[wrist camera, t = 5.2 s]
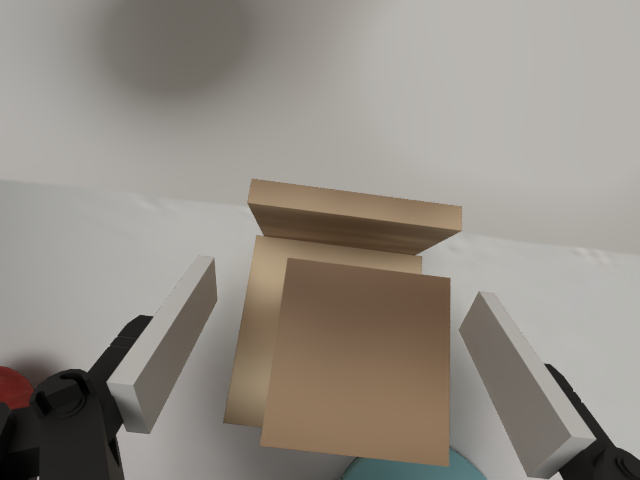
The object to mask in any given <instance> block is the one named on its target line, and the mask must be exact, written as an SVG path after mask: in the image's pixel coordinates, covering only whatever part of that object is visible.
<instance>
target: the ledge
mask: <svg viewBox="0 0 640 480" xmlns="http://www.w3.org/2000/svg"><path fill="white" fill-rule="evenodd" d="M247 203H248V205H249V207H250V209H251V211H252V213H253V215H254V217H255V219H256V221H257V223H258V225H259V227H260V229H261V231H262V233H263V235H264V236H259V235H257V236H256V241H255V247H254V253H253V258H252V264H251V269H250V275H249V281H248V286H247V292H246V297H245V303H244V309H243V314H242V320H241V325H240V331H239V337H238V342H237V348H236V354H235V359H234V365H233V370H232V376H231V382H230V387H229V393H228V398H227V404H226V410H225V415H224V421H223V423H228V424H237V425H246V426H255V427H263V421H264V414H265V408H266V401H267V394H268V387H269V381H270V374H271V367H272V360H273V354H274V347H275V340H276V333H277V326H278V320H279V313H280V306H281V299H282V293H283V286H284V279H285V272H286V266H287V259H288V258H295V259H303V260H311V261H319V262H327V263H334V264H342V265H350V266H358V267H366V268H374V269H382V270H390V271H398V272H406V273H414V274H421V271H422V256H415V255H416V254H418V253H420V252H422V251H424V250H426V249H428V248H430V247H432V246H434V245H435V244H437V243H439V242H441V241H443V240H445V239H447V238H449V237H451V236H453V235H455V234H457V233H458V232H460V231H462V207H461V206H454V205H446V204H439V203H431V202H423V201H416V200H408V199H401V198H393V197H386V196H378V195H371V194H363V193H355V192H348V191H340V190H333V189H325V188H318V187H310V186H303V185H295V184H287V183H280V182H273V181H265V180H258V179H252V181H251V186H250V191H249V196H248V201H247Z"/></svg>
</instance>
